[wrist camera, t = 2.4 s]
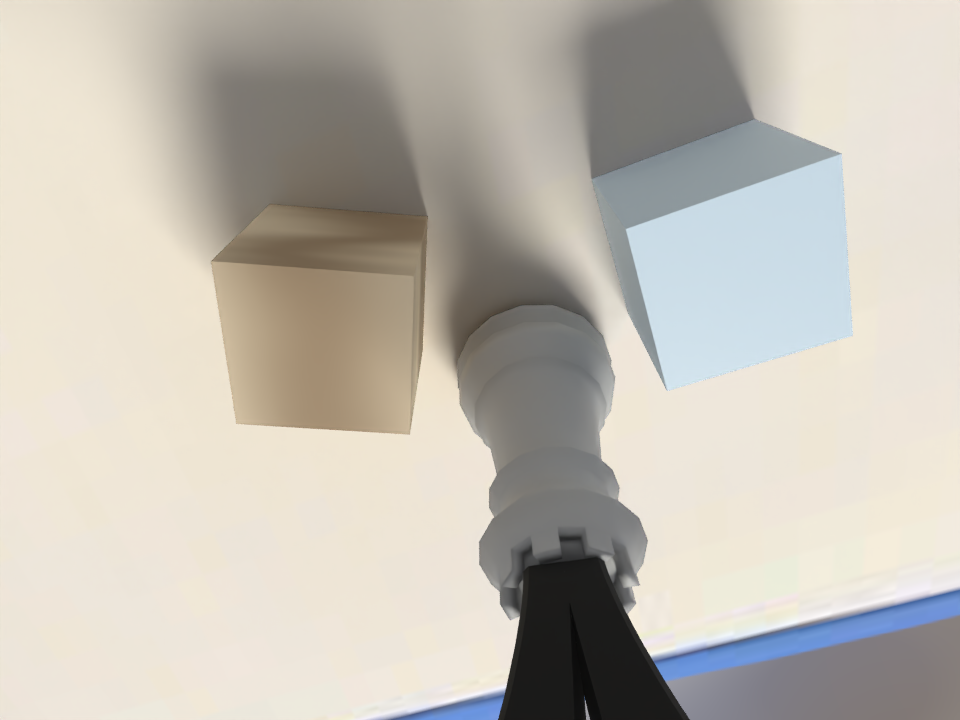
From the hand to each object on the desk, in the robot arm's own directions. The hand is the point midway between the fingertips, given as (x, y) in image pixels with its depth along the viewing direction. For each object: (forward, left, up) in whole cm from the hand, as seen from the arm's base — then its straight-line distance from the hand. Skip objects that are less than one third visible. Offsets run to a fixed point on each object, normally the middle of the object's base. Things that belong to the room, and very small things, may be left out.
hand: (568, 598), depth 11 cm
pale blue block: (-5, -3, -8) cm, 10 cm away
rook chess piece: (0, 0, -8) cm, 8 cm away
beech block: (+4, -3, -8) cm, 10 cm away
